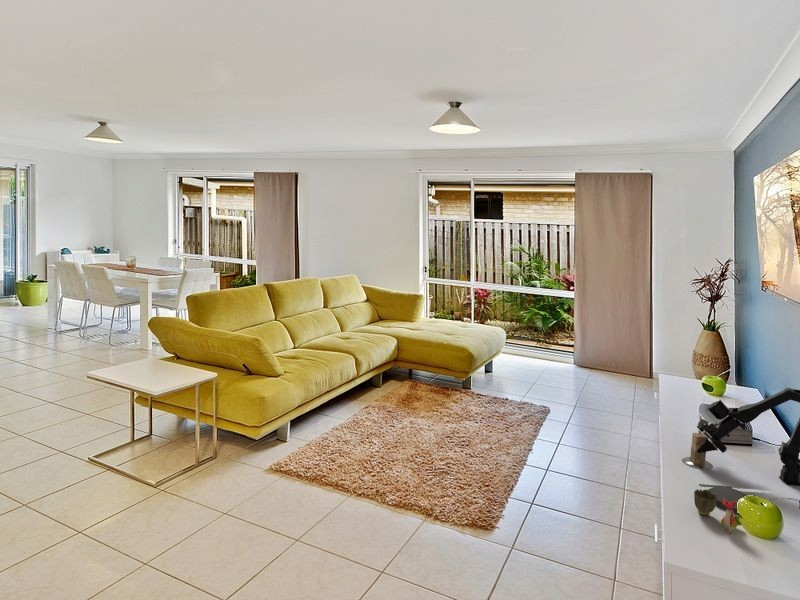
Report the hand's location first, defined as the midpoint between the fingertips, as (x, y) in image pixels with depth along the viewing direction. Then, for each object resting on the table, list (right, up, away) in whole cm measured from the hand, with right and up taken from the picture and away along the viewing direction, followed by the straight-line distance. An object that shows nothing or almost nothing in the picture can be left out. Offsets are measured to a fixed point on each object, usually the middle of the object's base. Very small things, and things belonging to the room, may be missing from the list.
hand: (695, 449), depth 232 cm
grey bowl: (+1, -7, +1) cm, 7 cm away
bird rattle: (-15, -15, -48) cm, 52 cm away
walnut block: (+1, -6, +1) cm, 6 cm away
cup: (-18, -13, -38) cm, 44 cm away
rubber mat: (-1, -9, -14) cm, 17 cm away
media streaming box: (-3, -12, -29) cm, 32 cm away
